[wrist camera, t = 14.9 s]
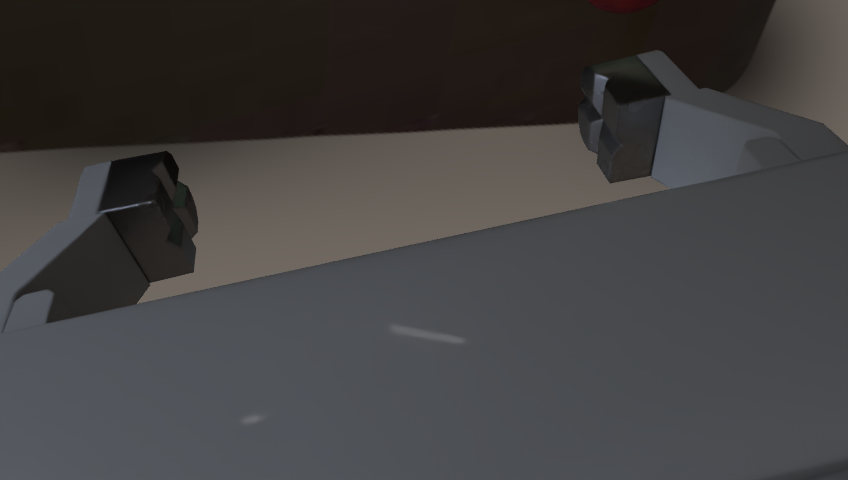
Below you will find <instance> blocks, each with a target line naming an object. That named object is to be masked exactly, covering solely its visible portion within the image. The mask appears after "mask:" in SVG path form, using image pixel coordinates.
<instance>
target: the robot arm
mask: <svg viewBox="0 0 848 480" xmlns="http://www.w3.org/2000/svg"><path fill="white" fill-rule="evenodd" d="M580 87H581V88H582V90H583V91H584V93H585V94H586V97H585V98H584V100H583V101H582V102H581V104H580V105H579V115H578V121H579V128H580V133H581V136H582V139H583V141H584V143H585V145H586V147H587V148H588V150H590V151H592V152H594V153H597V154H598V156H597V164H598V166H599V167H600V169H601V170H602V172H603V174H604V175H605V177H606V178H607V180H608V181H609V182H610V183H614V182H619V181H625V180H630V179H635V178H641V177H646V176H651V178H653V179H655V180H657V181H658V182H660V183H662V184H664V185H665V186H667V187H669V188H670V189H669V190H664V191H659V192H655V193H650V194H645V195H641V196H636V197H632V198H627V199H623V200H618V201H613V202H609V203H603V204H599V205H594V206H590V207H585V208H580V209H576V210H571V211H567V212H562V213H557V214H552V215H548V216H544V217H538V218H534V219H529V220H525V221H520V222H515V223H511V224H506V225H502V226H497V227H493V228H488V229H483V230H479V231H474V232H470V233H464V234H460V235H455V236H451V237H446V238H441V239H437V240H432V241H427V242H423V243H418V244H414V245H409V246H404V247H399V248H395V249H390V250H385V251H381V252H376V253H372V254H367V255H362V256H358V257H353V258H348V259H344V260H339V261H334V262H330V263H325V264H321V265H316V266H312V267H307V268H302V269H297V270H293V271H288V272H283V273H279V274H274V275H270V276H265V277H260V278H256V279H251V280H246V281H242V282H237V283H233V284H228V285H223V286H219V287H214V288H210V289H205V290H200V291H195V292H191V293H186V294H182V295H177V296H172V297H168V298H163V299H158V300H154V301H149V302H145V303H140V304H137V302H138V301H139V299H140V298H141V297H142V296H143V294H144V293H145V291H146V290H147V289H148V287H149V286H150V284H149V283H151V282H155V281H159V280H164V279H168V278H172V277H176V276H180V275H184V274H188V273H193V272H194V263H195V253H196V247H195V245H194V243H193V241H192V238H193V237H194V235H195V234H196V233H197V232H198V217H197V210H196V206H195V203H194V200H193V197H192V195H191V192H190V190H189V188H188V187H187V186H186V185H184V184H183V183H181V182H179V181H178V173H179V168H178V166H177V164H176V162H175V160H174V158H173V156H172V155H171V154H170V153H169V152H167V151H164V152H159V153H153V154H147V155H142V156H136V157H131V158H126V159H121V160H115V161H109V162H104V163H99V164H94V165H90V166H88V167H86V168H84V170H83V173H82V176H81V179H80V182H79V185H78V188H77V191H76V194H75V198H74V201H73V204H72V207H71V210H70V213H69V216H68V219H67V221H62V222H59V223H57V224H56V225H55V226H54V227H53V228H52V229H51V230H49V231H48V232H47V233H46V234H45V235H43V236H42V237H41V238H40V239H39V240H37V241H36V242H35V243H34V244H33V245H32V246H30V247H29V248H28V249H27V250H26V251H25V252H23V253H22V254H21V255H20V256H19V257H17V258H16V259H15V260H14V261H13V262H12V263H10V264H9V265H8V266H7V267H6V268H5V269H4V270H2V271H1V272H0V480H848V145H847V144H846V143H845V142H844V141H842V140H841V139H840V138H839V137H838V136H837V135H836V134H834V133H833V132H832V131H831V130H830V129H829V128H827V127H826V126H825V125H824V124H823V123H819V122H816V121H813V120H810V119H807V118H803V117H800V116H797V115H793V114H790V113H787V112H783V111H780V110H777V109H774V108H770V107H767V106H764V105H761V104H757V103H754V102H751V101H747V100H744V99H741V98H738V97H734V96H731V95H728V94H724V93H721V92H718V91H715V90H711V89H708V88H704V89H698V88H697V87H696V86H695V85H694V84H693V83H692V82H691V81H690V80H689V79H688V78H687V77H686V75H685V74H684V73H683V72H682V71H681V70H680V69H679V68H678V67H677V66H676V65H675V64H674V63H673V62H672V61H671V60H670V59H669V58H668V57H667V56H666V55H665V54H664V53H663V52H662V51H658V50H655V51H651V52H647V53H643V54H639V55H635V56H631V57H627V58H622V59H618V60H614V61H609V62H605V63H601V64H596V65H592V66H588V67H584V68H583V71H582V74H581V83H580Z"/></svg>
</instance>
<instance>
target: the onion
mask: <svg viewBox="0 0 848 480" xmlns="http://www.w3.org/2000/svg"><path fill="white" fill-rule="evenodd" d="M588 1H589V2H590V3H591V4H592V5H594V6H595V7H596V8H599V9H602V10H605V11H609V12H612V13H616V14H623V13H632V12H639V11H641V10H643V9H645V8H647V7H649V6H651V5H654V4H655V3H656V2H657V1H658V0H588Z"/></svg>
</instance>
